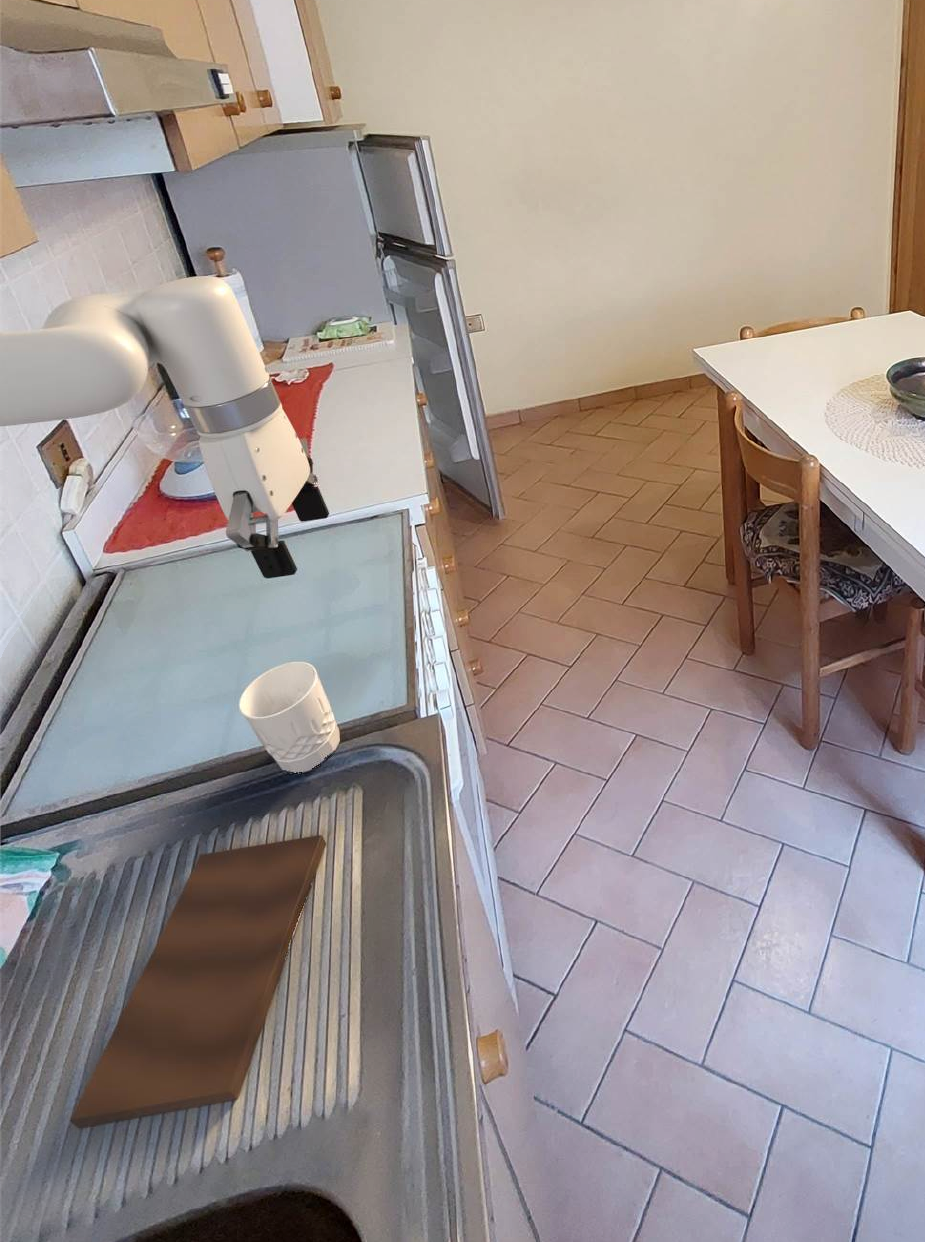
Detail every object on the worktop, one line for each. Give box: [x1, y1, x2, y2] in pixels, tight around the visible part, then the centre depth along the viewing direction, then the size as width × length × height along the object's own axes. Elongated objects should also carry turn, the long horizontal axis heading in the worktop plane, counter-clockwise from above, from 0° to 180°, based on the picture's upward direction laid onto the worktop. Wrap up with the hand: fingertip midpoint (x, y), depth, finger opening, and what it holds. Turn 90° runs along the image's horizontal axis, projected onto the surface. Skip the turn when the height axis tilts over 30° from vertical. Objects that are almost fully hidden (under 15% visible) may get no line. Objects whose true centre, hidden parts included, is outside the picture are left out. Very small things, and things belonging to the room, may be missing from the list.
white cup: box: [238, 661, 341, 774], centre depth 86 cm, size 8×8×10 cm
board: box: [69, 834, 327, 1129], centre depth 68 cm, size 21×12×2 cm, turn 6°
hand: (299, 545), depth 82 cm, fingers open, 9 cm apart
